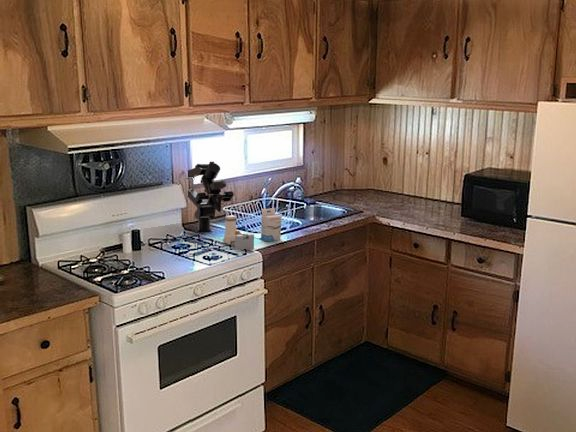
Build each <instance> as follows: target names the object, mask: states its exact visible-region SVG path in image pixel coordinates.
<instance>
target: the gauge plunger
mask: <svg viewBox="0 0 576 432" xmlns="http://www.w3.org/2000/svg"><path fill="white" fill-rule="evenodd" d="M246 234H247V233H244V232H241V231H240V230H238V229H236V231H235V235H243V236H244V237H243V238H244V239H246V238H247V235H246Z"/></svg>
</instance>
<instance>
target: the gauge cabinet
mask: <svg viewBox="0 0 576 432" xmlns="http://www.w3.org/2000/svg"><path fill="white" fill-rule="evenodd" d="M245 234H246V235H247V238H246V239H244V238H243V237H244V236H243V235H235V246H234V250H235V249H237V250H241V251H246V250H247V251H248V250H254V249H255V234H253V233H245ZM244 249H246V250H244ZM237 250H236V251H237Z"/></svg>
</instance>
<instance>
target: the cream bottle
mask: <svg viewBox="0 0 576 432" xmlns="http://www.w3.org/2000/svg"><path fill="white" fill-rule="evenodd" d="M224 219H225V220H224V221H225V223H224V224H225V226H224V228H225V230H224V231H225V233H224V235H223V238H224V241H223V242H224V243H226V244H228V245H231V241H235V231H236V230H237V216H236V215H232V214H231V215H225V218H224Z"/></svg>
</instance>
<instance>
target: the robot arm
mask: <svg viewBox="0 0 576 432" xmlns="http://www.w3.org/2000/svg"><path fill="white" fill-rule="evenodd" d="M187 171H188V177H193V178H194V179H195V177H199V176H201V178H200V184H202V185H203V188H204V189H203V191H204V192H197V191H196V190H195V189H192V190H188V196H187V198H188V199H189V200H190V201H191V203H192V204H193V205H194V206H195V207H196V210H195V212H194V219H196V220H198V227H197V232H204V233H205V232H212V228H211V219H215V215H216V211H217V212H218V213H221V211H222V202H227V203H228V202H231V200H232V199H233V197H234V195H235V193H234V191H233V190H225V191H224V192H223V193H221V192H222V190H223V189H225V188H226V187H227V182H226V181H225V180H220V181H215V179H216V178H217V177H218V175H219V173H220V172H221V167H220V165H218V164H217V163H215V161H209V163H206V162H205V163H197V164H196V165H195V166H194V168H191V169H187Z"/></svg>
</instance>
